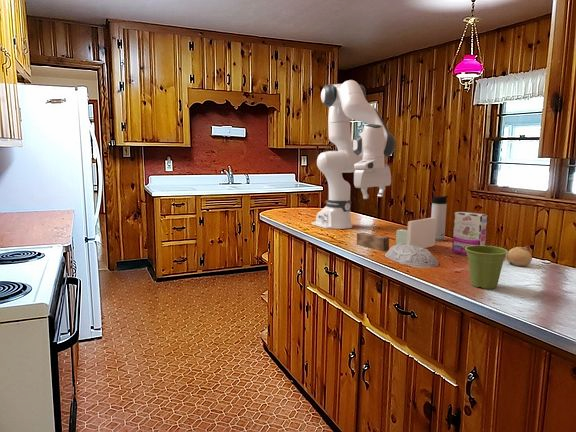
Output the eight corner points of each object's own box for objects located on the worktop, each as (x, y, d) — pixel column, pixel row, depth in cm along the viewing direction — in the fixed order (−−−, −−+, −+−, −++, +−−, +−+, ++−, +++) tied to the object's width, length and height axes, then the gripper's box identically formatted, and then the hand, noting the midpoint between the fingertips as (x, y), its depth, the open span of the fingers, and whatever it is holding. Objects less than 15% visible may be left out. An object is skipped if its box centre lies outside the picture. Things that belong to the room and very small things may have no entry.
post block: (391, 247, 183) (392, 218, 181) (416, 242, 195) (417, 215, 193) (409, 251, 176) (411, 221, 174) (434, 245, 188) (436, 217, 186)
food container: (418, 269, 150) (420, 249, 149) (373, 256, 172) (374, 239, 172) (451, 269, 157) (453, 250, 156) (403, 256, 179) (405, 240, 179)
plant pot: (479, 277, 141) (482, 243, 140) (513, 288, 131) (517, 251, 129) (453, 282, 136) (456, 247, 134) (487, 294, 125) (490, 255, 124)
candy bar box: (484, 256, 170) (488, 214, 167) (478, 258, 167) (481, 215, 164) (457, 251, 178) (460, 210, 176) (451, 252, 175) (454, 211, 172)
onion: (510, 267, 155) (512, 247, 154) (502, 261, 162) (504, 242, 161) (534, 268, 154) (536, 248, 152) (525, 262, 161) (527, 243, 160)
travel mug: (446, 241, 196) (449, 196, 193) (430, 240, 198) (433, 196, 194) (444, 238, 202) (446, 195, 199) (429, 238, 204) (431, 194, 201)
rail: (356, 245, 187) (356, 232, 186) (362, 243, 189) (362, 231, 189) (383, 251, 177) (383, 237, 176) (388, 249, 179) (389, 236, 178)
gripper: (382, 163, 190) (382, 195, 192) (351, 164, 177) (351, 199, 179) (395, 163, 185) (394, 196, 187) (363, 164, 172) (363, 200, 174)
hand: (373, 197), depth 183 cm, fingers open, 8 cm apart
